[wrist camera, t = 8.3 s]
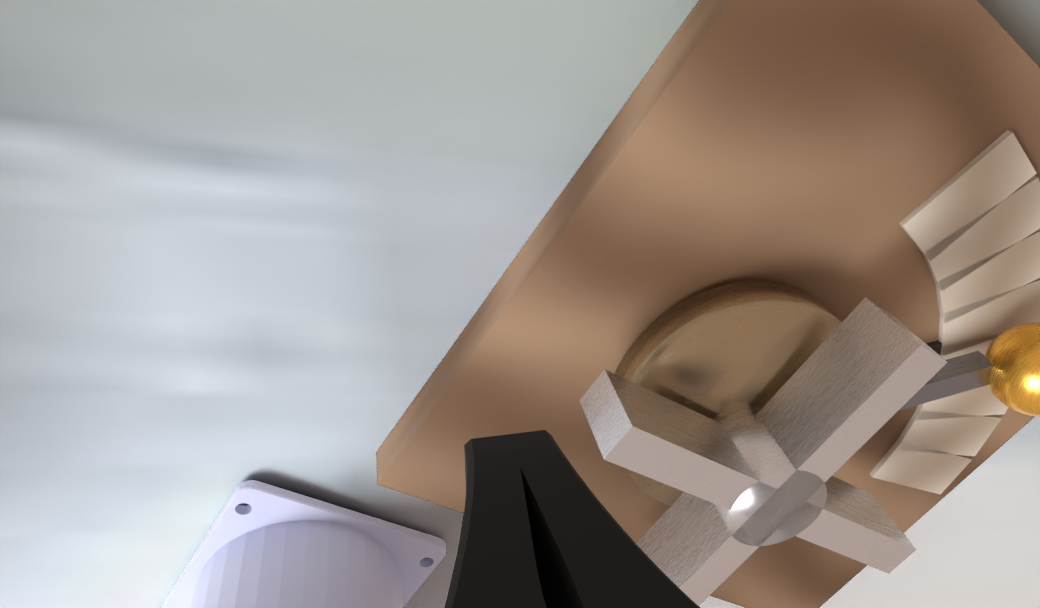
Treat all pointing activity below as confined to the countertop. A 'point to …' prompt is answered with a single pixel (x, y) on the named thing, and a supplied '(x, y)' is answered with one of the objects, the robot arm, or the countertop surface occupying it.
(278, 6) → the countertop surface
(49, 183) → the countertop surface
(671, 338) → the capstan
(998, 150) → the lever board
